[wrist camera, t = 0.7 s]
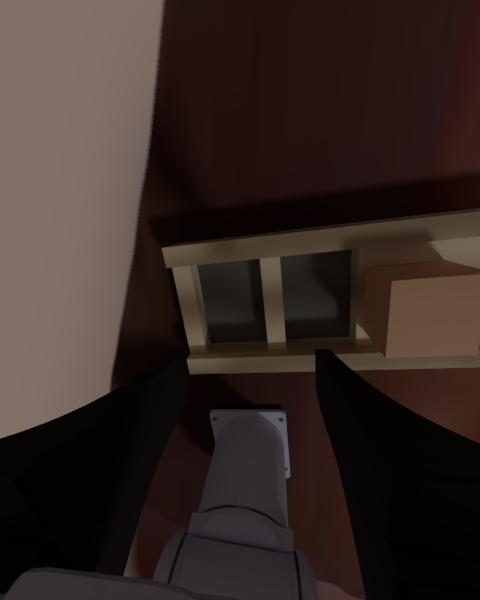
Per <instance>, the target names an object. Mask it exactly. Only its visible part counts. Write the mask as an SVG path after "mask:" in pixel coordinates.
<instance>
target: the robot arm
mask: <svg viewBox="0 0 480 600" xmlns="http://www.w3.org/2000/svg"><path fill="white" fill-rule="evenodd" d="M315 375H316V391H317V396H318V401H319V406H320V410H321V413H322V416H323V419H324V423H325V426H326V429H327V432H328V435H329V438H330V441H331V444H332V448H333V451H334V454H335V457H336V460H337V464H338V468H339V472H340V476H341V481H342V485H343V489H344V494H345V498H346V503H347V508H348V512H349V517H350V522H351V526H352V531H353V536H354V541H355V546H356V551H357V556H358V560H359V565H360V570H361V575H362V580H363V585H364V591H365V596H366V600H480V443H477V442H475V441H472V440H470V439H468V438H466V437H463V436H461V435H459V434H457V433H455V432H453V431H450V430H448V429H446V428H444V427H442V426H440V425H438V424H436V423H434V422H432V421H430V420H428V419H426V418H424V417H422V416H420V415H419V414H417V413H415V412H413V411H411V410H409V409H408V408H406V407H404V406H402V405H401V404H399V403H397V402H396V401H394V400H393V399H391V398H390V397H388V396H386V395H385V394H383V393H382V392H380V391H379V390H377V389H376V388H375V387H373V386H372V385H371V384H369V383H368V382H367V381H365V380H364V379H363V378H361V377H360V376H359V375H358V374H356V373H355V372H354V371H353V370H352V369H351V368H349V367H348V366H347V365H346V364H345V363H344V362H343V361H342V360H341V359H339V358H338V357H337V356H336V355H335V354H334V353H333V352H332V351H331V350H330V349H315ZM188 392H189V385H188V380H187V376H186V372H185V367H184V363H183V359H182V354H179V355H169V356H167V357H165V358H164V359H162V360H160V361H159V362H157V363H156V364H154V365H153V366H151V367H150V368H148V369H147V370H145V371H144V372H142V373H141V374H139V375H138V376H136V377H135V378H133V379H131V380H130V381H128V382H127V383H125V384H123V385H122V386H120V387H118V388H117V389H115V390H114V391H112V392H110V393H108V394H106V395H105V396H103V397H101V398H99V399H97V400H95V401H93V402H91V403H89V404H88V405H85V406H83V407H81V408H79V409H76V410H75V411H72V412H70V413H68V414H65V415H63V416H61V417H59V418H56V419H54V420H51V421H49V422H46V423H44V424H41V425H38V426H36V427H33V428H31V429H28V430H25V431H22V432H19V433H16V434H13V435H10V436H7V437H4V438H1V439H0V600H318V592H317V586H316V581H315V576H314V572H313V569H312V567H311V565H310V563H309V562H308V560H307V559H306V556H305V554H304V553H303V551H301V550H294V545H293V531H292V530H290V529H288V518H287V497H286V478H289V477H290V464H289V451H288V438H287V425H286V413H285V411H284V410H281V409H213V410H211V412H210V419H211V424H212V429H213V434H214V439H215V443H216V444H215V448H214V452H213V456H212V460H211V464H210V468H209V472H208V476H207V480H206V483H205V487H204V491H203V495H202V499H201V503H200V507H199V511H198V513H192V517H191V520H190V524H189V528H188V530H186V529H179V530H178V531H177V532H176V534H175V535H174V536H173V537H172V538H171V539H170V540H169V541H168V543H167V545H166V546H165V548H164V551H163V553H162V555H161V558H160V560H159V563H158V566H157V569H156V571H155V575H154V578H153V580H148V579H140V578H132V577H124V576H123V575H124V571H125V567H126V564H127V560H128V556H129V553H130V549H131V546H132V542H133V539H134V536H135V532H136V529H137V526H138V522H139V519H140V516H141V512H142V509H143V506H144V503H145V500H146V497H147V494H148V491H149V488H150V485H151V482H152V480H153V477H154V474H155V471H156V468H157V466H158V463H159V460H160V458H161V456H162V453H163V451H164V449H165V447H166V445H167V442H168V440H169V438H170V436H171V434H172V432H173V430H174V428H175V425H176V423H177V421H178V419H179V417H180V415H181V412H182V410H183V408H184V405H185V402H186V399H187V395H188ZM214 417H215V418H214ZM280 418H282V419H280Z"/></svg>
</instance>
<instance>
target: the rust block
mask: <svg viewBox="0 0 480 600" xmlns="http://www.w3.org/2000/svg"><path fill="white" fill-rule="evenodd" d="M363 330H364V331H365V333H366V334H367V335H368V337H369V338H370V339H371V340H372V342H373V343H374V344H375V345H376V347H377V348H378V349H379V350H380V352H381V353H382V354H383V356H384V357H385V358H409V357H441V356H473V355H477V353H478V349H479V344H480V269H478V268H475V267H471V266H467V265H463V264H459V263H455V262H451V261H448V260H435V261H424V262H413V263H402V264H390V265H379V266H368V267H366V277H365V299H364V321H363Z"/></svg>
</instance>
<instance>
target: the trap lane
mask: <svg viewBox="0 0 480 600" xmlns="http://www.w3.org/2000/svg"><path fill="white" fill-rule="evenodd" d="M162 251H163V256H164V260H165V265H166V268H172V270H173V275H174V279H175V284H176V289H177V293H178V298H179V303H180V307H181V312H182V316H183V321H184V326H185V330H186V335H187V340H188V344H189V349H190V355H189V356H188V358H187V363H188V368H189V372H190V374H219V373H261V372H302V371H315V349H330V350H331V351H332V352H333V353H334V354H335V355H336V356H337V357H338V358H339V359H341V360H342V361H343V362H344V363H345V364H346V365H347V366H348V367H349V368H351V369H352V370H385V369H426V368H467V367H480V344H479V349H478V353H477V355H473V356H441V357H409V358H385V357H384V356H383V354H382V353H381V352H380V350H379V349H378V348H377V347H376V345H375V344H374V343H373V342H372V340H371V339H370V338H369V337H368V335H367V334H366V333H365V331H364V330H363V321H364V299H365V277H366V267H368V266H379V265H390V264H402V263H413V262H424V261H435V260H448V261H451V262H455V263H459V264H463V265H467V266H471V267H475V268H478V269H480V208H474V209H466V210H457V211H449V212H440V213H432V214H423V215H415V216H406V217H398V218H389V219H381V220H372V221H364V222H356V223H347V224H339V225H330V226H322V227H313V228H305V229H296V230H288V231H279V232H271V233H262V234H254V235H246V236H237V237H229V238H220V239H212V240H203V241H195V242H186V243H178V244H174V245H171V246H167V247H164V248H162Z"/></svg>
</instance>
